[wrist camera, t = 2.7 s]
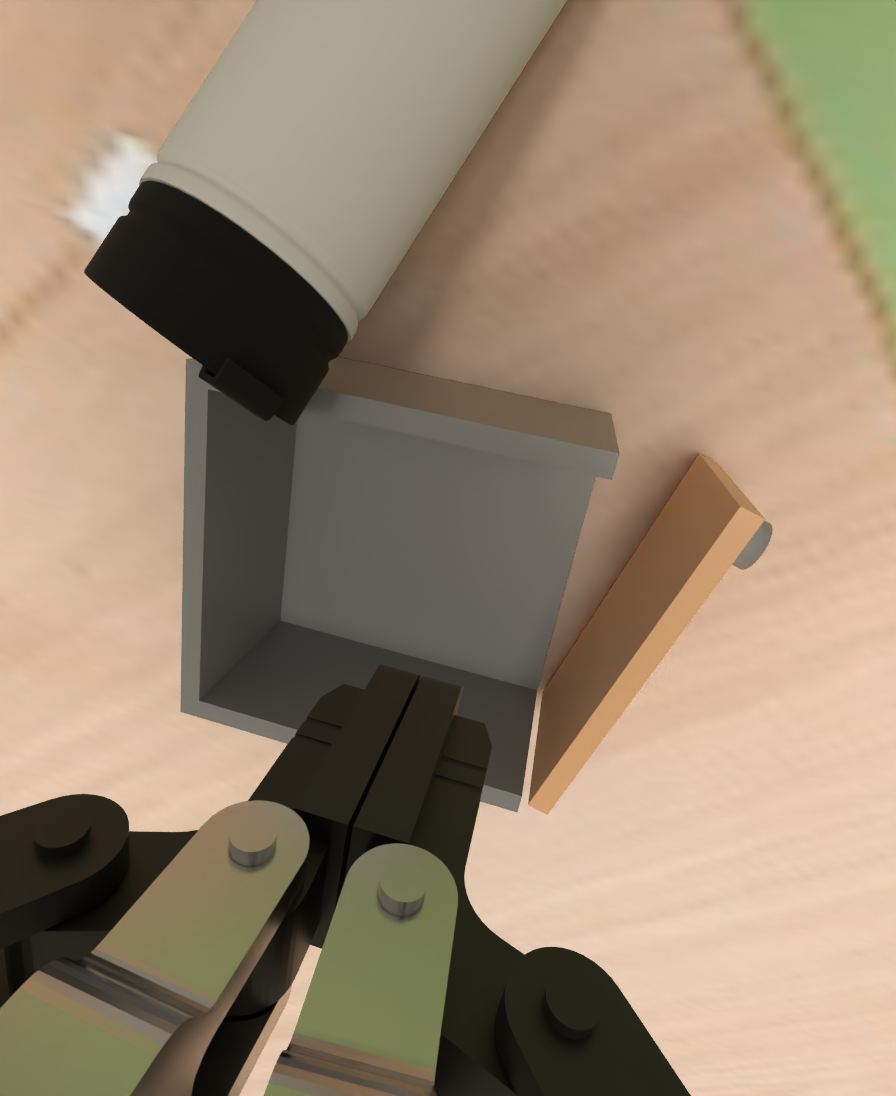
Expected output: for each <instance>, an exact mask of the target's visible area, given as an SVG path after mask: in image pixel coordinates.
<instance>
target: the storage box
mask: <svg viewBox="0 0 896 1096" xmlns="http://www.w3.org/2000/svg"><path fill="white" fill-rule="evenodd" d="M201 368H202V364H200V363H199V362H198V361H196V360H195V359H186V402H185V466H184V529H183V593H182V656H181V712H183V713H187V714H190V715H193V716H197V717H200V718H203V719H207V720H210V721H213V722H217V723H220V724H223V725H227V726H230V727H234V728H237V729H240V730H244V731H247V732H250V733H254V734H257V735H260V736H264V737H267V738H270V739H274V740H277V741H280V742H284V743H287V744H288V743H289V742H290V740H291V739H292V737H295V734H296V732H297V730H298V729H299V727H300V726H301V725H302V723H303V722H304V721H306V719H307V716H308V715H309V713H310V712H311V710H312V709H313V707H314V706H315V705H316V703H317V702H318V700H319V699H320V698H321V697H322V696H324V695H325V694H327V693H329V692H330V691H332V690H334V689H336V688H337V687H339V686H341V685H342V684H346V685H350V686H353V687H357V688H360V689H365V688H366V686H367V684H368V683H369V681H370V679H371V678H372V676H373V674H374V673H375V671H376V669H377V668H378V666H379V665H380V664H382V665H386V666H390V667H393V668H397V669H400V670H404V671H408V672H411V673H415V674H419V675H420V676H421V678H422V676H426V677H430V678H434V679H437V680H441V681H445V682H448V683H452V684H455V685H459V686H463V690H462V695H461V700H460V704H459V709H458V713H457V716H460V717H464V718H467V719H471V720H474V721H478V722H482V723H485V726H486V729H487V732H488V735H489V738H490V741H491V744H492V750H491V754H490V759H489V763H488V767H487V772H486V776H485V781H484V785H483V790H482V794H481V799H480V801H481V802H485V803H488V804H491V805H495V806H498V807H501V808H505V809H508V810H511V811H515V812H517V811H518V808H519V804H520V801H521V797H522V791H523V784H524V777H525V770H526V763H527V756H528V749H529V743H530V736H531V729H532V722H533V715H534V708H535V701H536V694H537V689H538V685H539V681H540V678H541V674H542V670H543V667H544V663H545V659H546V656H547V652H548V649H549V645H550V641H551V638H552V634H553V630H554V627H555V623H556V619H557V616H558V612H559V608H560V605H561V601H562V597H563V594H564V590H565V586H566V583H567V579H568V575H569V572H570V568H571V565H572V561H573V557H574V554H575V550H576V546H577V543H578V539H579V535H580V532H581V528H582V524H583V521H584V517H585V513H586V510H587V506H588V502H589V499H590V495H591V492H592V488H593V484H594V481H595V477H596V476H598V477H602V478H607V479H611V480H612V477H613V474H614V470H615V467H616V463H617V460H618V456H619V450H618V445H617V440H616V435H615V430H614V425H613V420H612V415H611V414H609V413H604V412H599V411H594V410H590V409H585V408H580V407H575V406H571V405H566V404H561V403H556V402H551V401H547V400H542V399H537V398H532V397H528V396H523V395H518V394H513V393H509V392H504V391H499V390H494V389H489V388H485V387H480V386H475V385H470V384H466V383H461V382H456V381H451V380H447V379H442V378H437V377H432V376H428V375H423V374H418V373H413V372H408V371H404V370H399V369H394V368H389V367H385V366H380V365H375V364H370V363H366V362H361V361H356V360H351V359H347V358H342V357H337V358H335V359H333V360H330V362H329V371H328V373H327V375H326V376H325V378H324V379H323V381H322V382H321V384H320V385H319V387H318V389H317V390H316V392H315V393H314V395H313V396H312V398H311V400H310V401H309V403H308V404H307V406H306V407H305V409H304V410H303V412H302V414H301V415H300V417H299V418H298V420H297V422H296V423H295V424H294V425H290V424H288V423H286V422H284V421H283V420H281V419H280V418H278V417H276V416H275V415H274V416H273V417H272V418H271V419H270V420H269V421H264V420H263V419H261V418H259V417H257V416H255V415H254V414H252V413H251V412H249V411H248V410H246V409H245V408H243V407H242V406H241V405H239V404H238V403H236V402H235V401H233V400H232V399H230V398H229V397H227V396H226V395H224V394H223V393H221V392H220V391H218V390H217V389H215V388H214V387H212V386H211V385H210V384H208V383H207V382H205V381H204V380H202V379H201V378H199V372H200V370H201ZM420 680H421V679H420Z"/></svg>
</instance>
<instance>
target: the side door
mask: <svg viewBox="0 0 896 1096" xmlns="http://www.w3.org/2000/svg"><path fill="white" fill-rule="evenodd" d="M764 520H765V518H764V517H763V516H762V515H761V514H760V512H759V511H758V510H757V509H756V508H755V507H754V505H753V504H752V503H751V502H750V501H749V499H748V498H747V497H746V496H745V495H744V494H743V492H742V491H741V490H740V489H739V488H738V487H737V485H736V484H735V483H734V482H733V481H732V479H731V478H730V477H729V476H728V475H727V474H726V472H725V471H724V470H723V469H722V468H721V466H720V465H719V464H718V463H717V462H715V461H713V460H711V459H709V458H707V457H705V456H703V455H701V454H700V453H699V455H698V456H697V458H696V459H695V461H694V462H693V464H692V465H691V467H690V468H689V470H688V471H687V473H686V475H685V476H684V478H683V479H682V481H681V482H680V484H679V485H678V487H677V488H676V490H675V491H674V493H673V494H672V496H671V497H670V499H669V500H668V502H667V504H666V505H665V507H664V508H663V510H662V511H661V513H660V514H659V516H658V517H657V519H656V520H655V522H654V523H653V525H652V526H651V528H650V529H649V531H648V533H647V534H646V536H645V537H644V539H643V540H642V542H641V543H640V545H639V546H638V548H637V549H636V551H635V552H634V554H633V555H632V557H631V558H630V560H629V562H628V563H627V565H626V566H625V568H624V569H623V571H622V572H621V574H620V575H619V577H618V578H617V580H616V581H615V583H614V584H613V586H612V587H611V589H610V591H609V592H608V594H607V595H606V597H605V598H604V600H603V601H602V603H601V604H600V606H599V607H598V609H597V610H596V612H595V613H594V615H593V617H592V618H591V620H590V621H589V623H588V624H587V626H586V627H585V629H584V630H583V632H582V633H581V635H580V636H579V638H578V639H577V641H576V642H575V644H574V646H573V647H572V649H571V650H570V652H569V653H568V655H567V656H566V658H565V659H564V661H563V662H562V664H561V665H560V667H559V668H558V670H557V671H556V673H555V675H554V676H553V678H552V679H551V681H550V682H549V684H548V685H547V687H546V688H545V690H544V691H543V694H542V702H541V709H540V717H539V725H538V733H537V740H536V748H535V756H534V764H533V772H532V779H531V787H530V795H529V803H528V805H530V806H532V807H534V808H536V809H537V810H539V811H541V812H543V813H545V814H548V813H549V812H550V810H551V809H552V808H553V806H554V805H555V804H556V802H557V801H558V800H559V798H560V797H561V796H562V794H563V793H564V791H565V790H566V789H567V787H568V786H569V785H570V783H571V782H572V781H573V779H574V778H575V777H576V775H577V774H578V772H579V771H580V770H581V768H582V767H583V766H584V764H585V763H586V762H587V760H588V759H589V758H590V756H591V755H592V753H593V752H594V751H595V749H596V748H597V747H598V745H599V744H600V743H601V741H602V740H603V739H604V737H605V736H606V734H607V733H608V732H609V730H610V729H611V728H612V726H613V725H614V724H615V722H616V721H617V720H618V718H619V717H620V715H621V714H622V713H623V711H624V710H625V709H626V707H627V706H628V705H629V703H630V702H631V701H632V699H633V698H634V697H635V695H636V694H637V692H638V691H639V690H640V688H641V687H642V686H643V684H644V683H645V682H646V680H647V679H648V678H649V676H650V675H651V673H652V672H653V671H654V669H655V668H656V667H657V665H658V664H659V663H660V661H661V660H662V659H663V657H664V656H665V654H666V653H667V652H668V650H669V649H670V648H671V646H672V645H673V644H674V642H675V641H676V640H677V638H678V637H679V635H680V634H681V633H682V631H683V630H684V629H685V627H686V626H687V625H688V623H689V622H690V621H691V619H692V618H693V616H694V615H695V614H696V612H697V611H698V610H699V608H700V607H701V606H702V604H703V603H704V602H705V600H706V599H707V598H708V596H709V595H710V593H711V592H712V591H713V589H714V588H715V587H716V585H717V584H718V583H719V581H720V580H721V579H722V577H723V576H724V574H725V573H726V572H727V570H728V569H729V568H730V566H731V565H734V566H736V567H738V568H739V569H742V570H743V569H747V568H749V567H750V566H752V565H753V564H754V563H755V562H756V561H757V560H758V559H759V558H760V556H761V555H762V554H763V552H764V551H765V549H766V547H767V545H768V543H769V541H770V538H771V535H772V525H771V524H770V523H768V522H766V521H764Z"/></svg>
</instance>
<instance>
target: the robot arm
mask: <svg viewBox="0 0 896 1096" xmlns="http://www.w3.org/2000/svg"><path fill="white" fill-rule="evenodd" d="M420 679H421V680H420ZM462 690H463V686H459V685H455V684H452V683H448V682H445V681H441V680H437V679H434V678H430V677H426V676H422V678H421V676H420V675H419V674H415V673H411V672H408V671H404V670H400V669H397V668H393V667H390V666H386V665H382V664H380V665H379V666H378V668H377V669H376V671H375V673H374V674H373V676H372V678H371V679H370V681H369V683H368V684H367V686H366V688H365V689H360V688H357V687H353V686H350V685H346V684H342V685H341V686H339V687H337V688H336V689H334V690H332V691H330V692H329V693H327V694H325V695H324V696H322V697H321V698H320V699H319V700H318V702H317V703H316V705H315V706H314V707H313V709H312V710H311V712H310V713H309V715H308V716H307V719H306V721H304V722H303V723H302V725H301V726H300V727H299V729H298V730H297V732H296V734H295V737H292V739H291V740H290V742H289V743H288V745H287V746H286V747H285V749H284V750H283V752H282V753H281V755H280V756H279V757H278V759H277V760H276V762H275V763H274V765H273V766H272V767H271V769H270V770H269V772H268V773H267V775H266V776H265V777H264V779H263V780H262V782H261V783H260V785H259V786H258V787H257V789H256V790H255V792H254V793H253V795H252V796H251V797H250V799H249V800H248V801H245V802H241V803H237V804H234V805H231V806H229V807H226V808H224V809H223V810H221V811H219V812H217V813H216V814H215V815H213V816H212V817H211V818H210V819H209V820H208V821H207V822H206V823H205V824H204V825H203V826H202V827H201V828H200V829H199V830H195V831H189V832H133V831H129V821H128V818H127V815H126V813H125V811H124V810H123V808H122V807H120V806H119V805H118V804H117V803H116V802H114V801H112V800H110V799H108V798H105V797H102V796H97V795H90V794H76V795H68V796H62V797H58V798H55V799H51V800H48V801H45V802H42V803H39V804H36V805H33V806H29V807H26V808H23V809H20V810H17V811H14V812H11V813H8V814H5V815H2V816H0V1096H239V1095H240V1093H241V1091H242V1089H243V1087H244V1085H245V1083H246V1081H247V1079H248V1077H249V1075H250V1074H251V1072H252V1070H253V1068H254V1066H255V1064H256V1062H257V1060H258V1058H259V1056H260V1054H261V1052H262V1050H263V1049H264V1047H265V1045H266V1043H267V1041H268V1039H269V1037H270V1035H271V1033H272V1031H273V1029H274V1027H275V1026H276V1024H277V1022H278V1020H279V1018H280V1016H281V1014H282V1012H283V1010H284V1008H285V1006H286V1004H287V1002H288V999H289V996H290V992H291V986H292V983H293V981H294V979H295V977H296V975H297V972H298V970H299V968H300V966H301V963H302V961H303V959H304V957H305V954H306V952H307V950H308V947H309V945H313V946H316V947H319V948H322V951H321V954H320V957H319V960H318V963H317V966H316V969H315V972H314V974H313V977H312V980H311V983H310V986H309V989H308V992H307V995H306V998H305V1001H304V1004H303V1007H302V1010H301V1013H300V1016H299V1019H298V1022H297V1025H296V1028H295V1031H294V1034H293V1036H292V1039H291V1042H290V1044H289V1046H288V1048H287V1050H283V1051H282V1053H281V1054H280V1056H279V1058H278V1060H277V1063H276V1065H275V1067H274V1070H273V1072H272V1075H271V1077H270V1080H269V1083H268V1085H267V1088H266V1091H265V1094H264V1096H691V1095H690V1094H689V1092H688V1091H687V1089H686V1088H685V1086H684V1085H683V1083H682V1082H681V1080H680V1079H679V1077H678V1076H677V1074H676V1073H675V1071H674V1070H673V1068H672V1067H671V1065H670V1064H669V1062H668V1061H667V1059H666V1058H665V1056H664V1055H663V1053H662V1052H661V1050H660V1049H659V1047H658V1046H657V1044H656V1043H655V1041H654V1040H653V1038H652V1037H651V1035H650V1034H649V1032H648V1031H647V1029H646V1028H645V1026H644V1025H643V1023H642V1022H641V1020H640V1019H639V1017H638V1016H637V1014H636V1013H635V1011H634V1010H633V1008H632V1007H631V1005H630V1004H629V1002H628V1001H627V999H626V998H625V996H624V995H623V993H622V992H621V990H620V989H619V988H618V986H617V985H616V984H615V982H614V981H613V980H612V978H611V977H610V976H609V975H608V974H607V973H606V972H605V971H604V970H603V969H602V968H601V967H600V966H598V965H597V964H596V963H595V962H593V961H592V960H590V959H588V958H587V957H585V956H584V955H581V954H579V953H577V952H575V951H572V950H568V949H565V948H559V947H543V948H539V949H535V950H533V951H531V952H529V953H527V954H525V955H524V954H523V953H521V952H520V951H518V950H517V949H515V948H514V947H513V946H511V945H510V944H508V943H507V942H505V941H504V940H503V939H501V938H500V937H498V936H497V935H496V934H495V933H493V932H492V931H491V930H490V929H489V928H488V927H487V926H486V925H485V924H484V923H483V922H482V921H481V919H480V918H479V917H478V915H477V914H476V913H475V911H474V909H473V907H472V906H471V904H470V901H469V899H468V896H467V893H466V889H465V883H464V873H465V866H466V861H467V857H468V852H469V848H470V843H471V839H472V835H473V830H474V826H475V821H476V817H477V812H478V808H479V803H480V799H481V794H482V790H483V785H484V781H485V776H486V772H487V767H488V763H489V759H490V754H491V750H492V744H491V741H490V738H489V735H488V732H487V729H486V726H485V723H482V722H478V721H474V720H471V719H467V718H464V717H460V716H457V713H458V709H459V704H460V700H461V695H462Z"/></svg>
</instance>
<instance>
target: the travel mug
mask: <svg viewBox="0 0 896 1096" xmlns="http://www.w3.org/2000/svg"><path fill="white" fill-rule="evenodd" d="M566 2H567V0H257V2H256V3H255V5H254V6H253V8H252V9H251V11H250V12H249V14H248V16H247V17H246V19H245V20H244V22H243V23H242V25H241V26H240V28H239V29H238V31H237V32H236V34H235V35H234V37H233V38H232V40H231V42H230V43H229V45H228V46H227V48H226V49H225V51H224V52H223V54H222V55H221V57H220V58H219V60H218V61H217V63H216V64H215V66H214V68H213V69H212V71H211V72H210V74H209V75H208V77H207V78H206V80H205V81H204V83H203V84H202V86H201V87H200V89H199V91H198V92H197V94H196V95H195V97H194V98H193V100H192V101H191V103H190V104H189V106H188V107H187V109H186V110H185V112H184V113H183V115H182V117H181V118H180V120H179V121H178V123H177V124H176V126H175V127H174V129H173V130H172V132H171V133H170V135H169V136H168V138H167V139H166V141H165V143H164V144H163V146H162V147H161V149H160V151H159V153H158V156H157V160H158V163H155V164H151V165H150V166H149V167H148V169H147V170H146V172H145V173H144V175H143V176H142V178H141V180H140V183H139V185H140V186H139V188H138V189H137V191H136V192H135V194H134V195H133V197H132V198H131V200H130V203H129V210H130V212H129V214H128V215H126V216H121V217H119V218H118V220H117V221H116V223H115V224H114V226H113V227H112V229H111V230H110V232H109V234H108V235H107V237H106V238H105V240H104V241H103V243H102V244H101V246H100V247H99V249H98V250H97V252H96V253H95V255H94V257H93V258H92V260H91V261H90V263H89V264H88V266H87V267H86V269H85V270H84V272H85V274H86V275H87V276H88V277H89V278H90V279H91V280H92V281H93V282H94V283H96V284H97V285H98V286H99V287H100V288H102V289H103V290H104V291H105V292H107V293H108V294H109V295H110V296H111V297H113V298H114V299H115V300H117V301H118V302H119V303H120V304H122V305H123V306H124V307H125V308H127V309H128V310H129V311H131V312H132V313H133V314H135V315H136V316H137V317H138V318H140V319H141V320H142V321H144V322H145V323H146V324H148V325H149V326H150V327H152V328H153V329H154V330H156V331H157V332H158V333H160V334H161V335H162V336H164V337H165V338H166V339H168V340H169V341H170V342H172V343H173V344H174V345H176V346H177V347H178V348H180V349H181V350H183V351H184V352H185V353H187V354H188V355H189V356H191V357H192V358H193V359H195V360H196V361H198V362H199V363H200V364H202V368H201V370H200V372H199V378H201V379H202V380H204V381H205V382H207V383H208V384H210V385H211V386H212V387H214V388H215V389H217V390H218V391H220V392H221V393H223V394H224V395H226V396H227V397H229V398H230V399H232V400H233V401H235V402H236V403H238V404H239V405H241V406H242V407H243V408H245V409H246V410H248V411H249V412H251V413H252V414H254V415H255V416H257V417H259V418H261V419H263V420H264V421H269V420H270V419H271V418H272V417H273V416H274V415H275V416H276V417H278V418H280V419H281V420H283V421H284V422H286V423H288V424H290V425H294V424H295V423H296V422H297V420H298V418H299V417H300V415H301V414H302V412H303V410H304V409H305V407H306V406H307V404H308V403H309V401H310V400H311V398H312V396H313V395H314V393H315V392H316V390H317V389H318V387H319V385H320V384H321V382H322V381H323V379H324V378H325V376H326V375H327V373H328V371H329V362H330V360H333V359H335V358H337V357H338V356H339V354H340V353H341V351H342V349H343V348H344V346H345V345H346V343H348V342H350V341H351V339H352V338H353V336H354V334H355V333H356V331H357V328H358V321H360V320H362V319H363V318H364V317H366V316H367V314H368V312H369V311H370V309H371V308H372V306H373V305H374V303H375V301H376V300H377V298H378V297H379V295H380V294H381V292H382V290H383V289H384V287H385V286H386V284H387V283H388V281H389V279H390V278H391V276H392V275H393V273H394V272H395V270H396V268H397V267H398V265H399V264H400V262H401V261H402V259H403V257H404V256H405V254H406V253H407V251H408V250H409V248H410V246H411V245H412V243H413V242H414V240H415V239H416V237H417V235H418V234H419V232H420V231H421V229H422V228H423V226H424V224H425V223H426V221H427V220H428V218H429V217H430V215H431V213H432V212H433V210H434V209H435V207H436V206H437V204H438V203H439V201H440V199H441V198H442V196H443V195H444V193H445V192H446V190H447V188H448V187H449V185H450V184H451V182H452V181H453V179H454V177H455V176H456V174H457V173H458V171H459V170H460V168H461V166H462V165H463V163H464V162H465V160H466V159H467V157H468V155H469V154H470V152H471V151H472V149H473V148H474V146H475V144H476V143H477V141H478V140H479V138H480V137H481V135H482V133H483V132H484V130H485V129H486V127H487V126H488V124H489V122H490V121H491V119H492V118H493V116H494V115H495V113H496V111H497V110H498V108H499V107H500V105H501V104H502V102H503V100H504V99H505V97H506V96H507V94H508V93H509V91H510V89H511V88H512V86H513V85H514V83H515V82H516V80H517V78H518V77H519V75H520V74H521V72H522V71H523V69H524V67H525V66H526V64H527V63H528V61H529V60H530V58H531V57H532V55H533V53H534V52H535V50H536V49H537V47H538V46H539V44H540V42H541V41H542V39H543V38H544V36H545V35H546V33H547V31H548V30H549V28H550V27H551V25H552V24H553V22H554V20H555V19H556V17H557V16H558V14H559V13H560V11H561V9H562V8H563V6H564V5H565V3H566Z"/></svg>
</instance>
